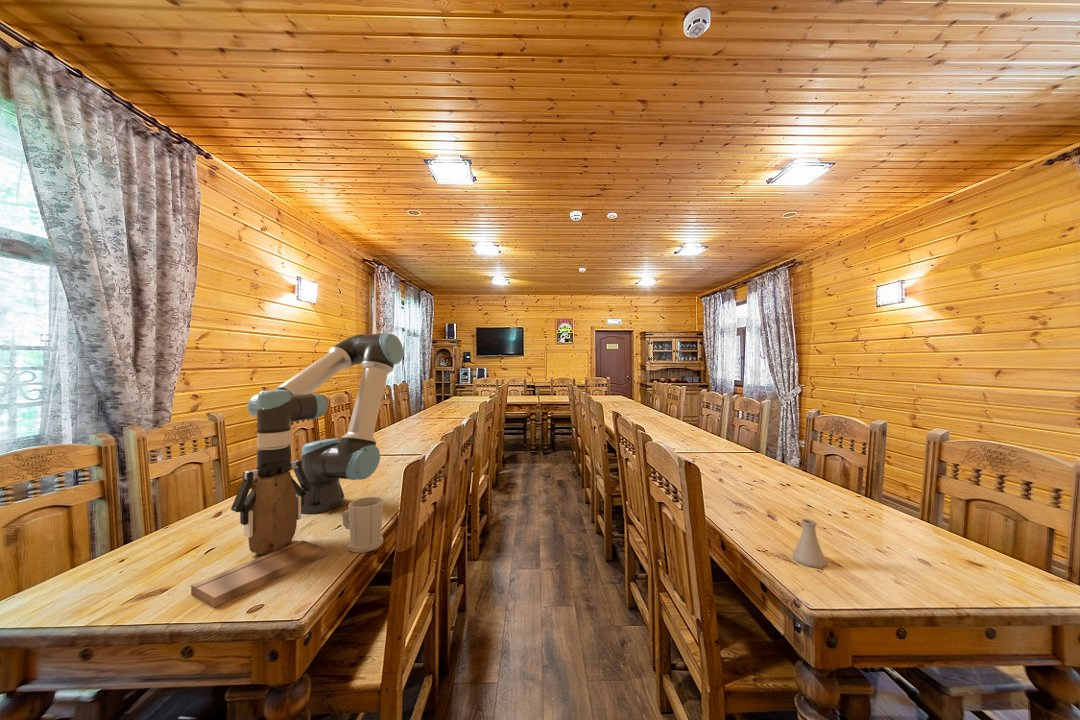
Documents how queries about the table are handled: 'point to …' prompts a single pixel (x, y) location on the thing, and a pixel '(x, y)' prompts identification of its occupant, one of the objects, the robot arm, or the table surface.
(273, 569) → the board
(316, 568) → the table surface
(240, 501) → the robot arm
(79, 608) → the table surface
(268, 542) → the brown pitted rock
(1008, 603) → the table surface
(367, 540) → the cup
